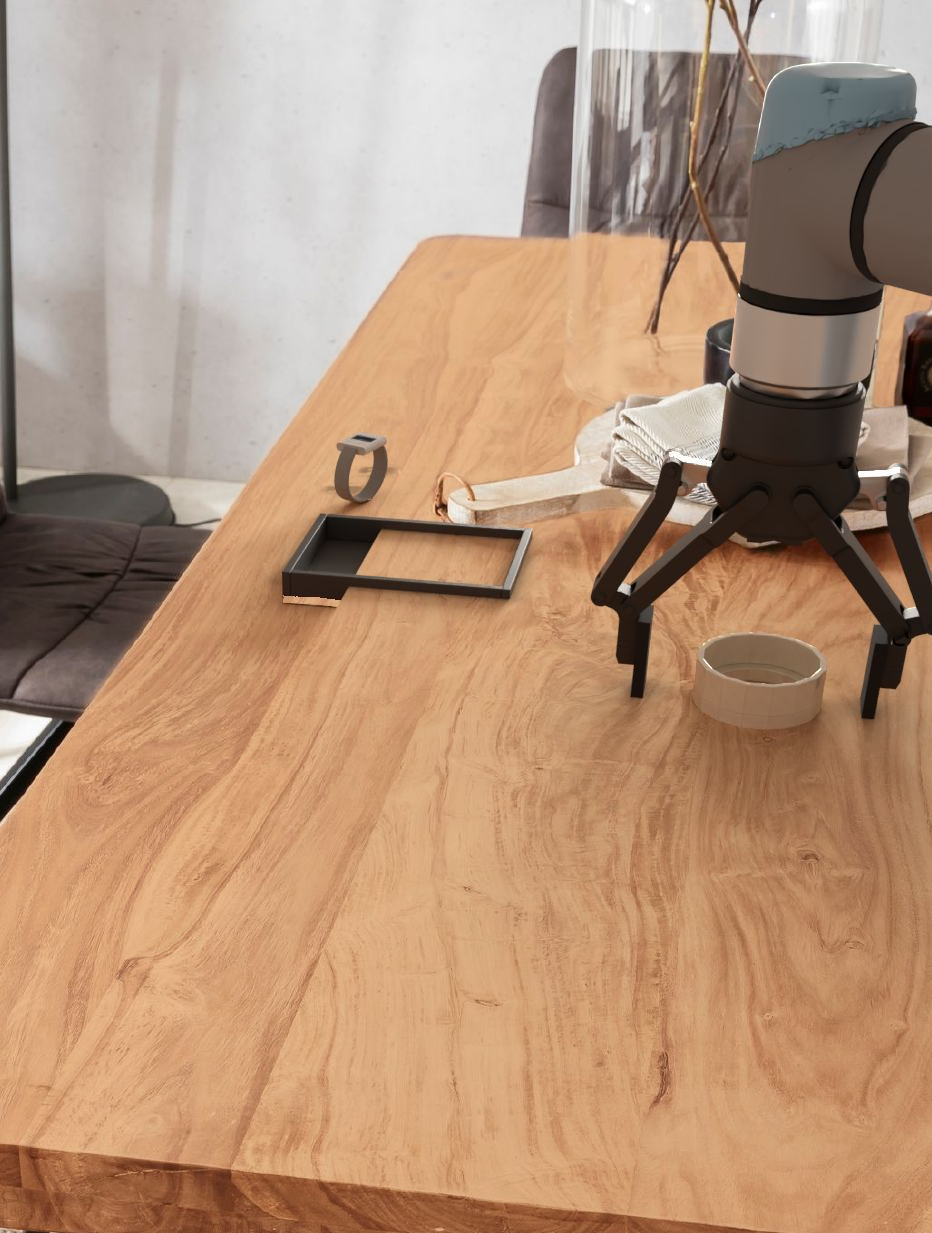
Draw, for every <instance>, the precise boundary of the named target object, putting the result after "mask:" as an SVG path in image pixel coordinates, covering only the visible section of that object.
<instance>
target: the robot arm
mask: <svg viewBox="0 0 932 1233" xmlns="http://www.w3.org/2000/svg"><path fill="white" fill-rule="evenodd" d="M917 92H918V86H917V82H916V79H915V77H914V76H913V75H912V74H911V73H910V72H909V71H907V70H904V69H899V68H896V67H895V66H891V65H886V64H880V63H879V64H878V63H869V62H851V61H850V62H849V61H847V62H846V61H831V62H830V61H829V62H826V61H825V62H811V63H803V64H798V65H793V66H792V65H791V66H789V67H786V68H784V69H783V70H781V71H779V72H777V73H776V74H775V75H774V76H773V77H772V79H771V80H770V81H769V84H768V85H767V87H766V90H765V93H764V98H763V104H762V108H761V114H760V120H759V125H758V130H757V137H756V142H755V147H754V152H753V153H752V155H751V157H750V158H751V159H750V164H751V172H750V184H749V195H748V208H747V219H746V220H747V221H746V232H745V242H744V243H745V245H744V254H743V261H742V262H743V264H742V273H741V274H740V277H739V278H740V281H739V288H738V293H737V295H736V303H735V311H734V319H733V320H734V322H733V329H732V335H731V336H732V337H731V338H732V339H731V344H730V345H731V346H730V352H729V354H730V355H729V360H728V361H729V362H728V363H729V367H730V368H731V369H732V370H733V372H735V373H734V374H733V375H732V376H731V377H730V378H729V379H728V380H727V382H726V387H725V393H724V394H725V396H724V403H723V412H722V413H723V414H722V419H721V429H720V437H719V444H718V449H717V452H716V454H715V456H714V457H713V458H712V460H705V459H700V458H696V457H690V456H686V455H685V453H684V451H683V450H682V449H680V448H678V447H671V448H669V449H667V450H666V451H665V452H664V455H663V458H662V463H661V467H660V471H659V475H658V480H657V483H656V485H655V486H654V488H653V489H652V491H651V492H650V493H649V496H648V497H647V498H646V500H645V501H644V503H643V504H642V506H641V507H640V509H639V511H637V514H636V516H635V517H633V520H632V522H630V524H629V526H628V527H627V529H626V531H625V532H624V534H623V535H622V536H621V538H620V540H618V543H617V544H616V545H615V547H614V549H613V550H612V552H611V553H610V554H609V556H608V558H607V560H606V561H605V563H604V564H603V565H602V567H601V568H600V570H599V572H598V573H597V574H596V576H595V579H594V581H593V585H592V588H591V593H590V601H591V603H592V604H593V605H594V606H596V607H600V608H601V607H607V608H609V609H611V610H613V611H614V612H615V613H616V614H617V617H618V627H617V637H616V638H617V639H616V650H615V658H616V661H617V664H618V665H629V666H633V668H632V677H631V687H630V688H631V689H630V698H634V699H643V698H644V693H645V688H646V682H647V675H648V667H649V659H650V658H649V657H650V656H649V655H650V649H651V648H650V647H651V639H652V627H653V619H654V609H655V604H653V603H654V602H655V601H657V600H658V599H659V598H660V597H661V596H663V594H664V593H665V592H667V591H668V590H669V589H670V588H672V587H673V586H674V585H675V584H676V583H677V582H678V581H679V580H680V579H681V578H683V577H684V576H685V575H686V574H687V573H688V572H689V571H691V569H693V568H694V567H695V566H696V565H697V564H698V563H700V561H702V560H703V559H704V558H705V557H707V556H708V555H709V553H711V552H712V551H713V550H714V549H718V548H720V547H721V546H722V545H723V544H724V543H725V542H727V541H728V540H729V539H731V537H732V536H733V535H734V534H737V535H738V536H740V537H741V538H744V539H746V543H754V544H763V543H770V542H776V543H780V544H783V545H786V546H791V547H803V544H805V543H808V542H811V541H813V540H815V539H816V540H817V541H818V543H819V544H820V546H821V547H822V549H823V550H824V551H825V553H826V554H827V555H828V556H829V558H831V559H833V560H834V562H835V564H836V565H837V566H838V567H839V569H840V571H841V572H842V573H843V575H844V576H845V577H846V579H847V580H848V582H849V583H850V584H851V586H852V588H854V590H855V592H856V593H857V594H858V595H859V597H860V598H861V600H862V601H863V602H864V604H865V605H866V607H867V608H868V609H869V611H870V612H871V614H872V615H873V616H874V618H875V619H876V621H877V622H878V623H879V624H875V623H873V627H872V633H871V638H870V644H869V648H868V653H867V660H866V664H865V670H864V676H863V680H862V685H861V686H862V687H861V692H860V698H859V702H860V719H865V720H875V717H876V713H877V712H876V711H877V707H878V701H879V697H880V696H879V695H880V690H881V689H887V690H897V688H898V686H899V685H900V684H901V682H902V676H903V671H904V666H905V661H906V657H907V651H908V648H909V646H910V645H911V642H912V641H913V639H915V638H917V637H919V636H924V635H929V636H932V571H931V568H930V564H929V562H928V559H927V556H926V553H925V551H924V548H923V545H922V542H921V539H920V536H919V533H918V530H917V528H916V525H915V522H914V518H913V516H912V513H911V510H910V495H911V494H910V493H911V492H910V491H911V485H910V477H909V470H908V468H907V466H906V465H905V464H903V463H901V462H895V463H892V464H890V465H889V467H887V469H886V470H868V471H867V470H865V471H859V469H858V467H857V462H856V460H857V452H858V446H859V442H860V436H861V428H862V422H863V417H864V410H865V404H866V398H867V389H866V388H865V386H864V384H863V383H862V381H863V380H865V379H866V378H868V376H869V375H870V374H871V371H872V370H871V369H872V363H873V357H874V351H875V346H876V340H877V333H878V332H877V331H878V327H879V323H880V317H881V316H880V315H881V309H882V304H883V303H882V302H883V296H884V288H885V286H888V287H889V286H890V287H894V288H897V289H902V290H905V291H908V292H912V293H916V294H920V295H923V296H924V295H925V296H927V297H931V298H932V125H930V124H927V123H925V122H924V121H923V122H922V121H916V117H917V115H918V109H917V107H916V102H917ZM703 483H704V484H706V485H707V486H706V487H707V488H708V490H709V492H710V494H711V495H712V497H713V498H714V500H715V502H716V503H715V504H714V505H713V506H712V507H710V508H709V510H708V511H706V513H705V514H704V515H703V516H702V518H701V519H700V520H699V521H698V522H697V523H696V524H695V525H693V527H691V528H690V530H688V531H687V532H686V533H685V534H684V535H683V536H681V537H680V538H679V539H678V540H677V541H676V542H675V543H673V545H672V546H670V548H668V549H667V550H666V551H665V552H664V553H663V554H661V556H659V557H658V558H657V559H656V560H655V561H654V562H652V564H650V565H649V566H648V567H647V568H645V570H644V571H643V572H642V573H641V574H639V575H638V576H637V577H636V578H635V579H634V580H633V581H631V582H630V583H629V582H626V583H625V582H624V581H625V580H626V579H627V577H628V575H629V573H630V572H631V571H632V569H633V568H634V566H635V565H636V563H637V562H638V560H639V559H640V557H641V556H642V554H643V552H645V550H646V549H647V547H648V545H649V544H650V542H651V541H652V539H653V538H654V536H655V535H656V533H657V532H658V530H659V529H660V527H661V526H662V525H663V523H664V522H665V521H666V518H667V517H668V516H669V513H670V512H671V510H672V509H673V506H674V505H675V502H676V499H677V497H679V498H680V497H681V498H683V497H687V496H689V495H690V494H691V493H692V492H693V490H694V488H695V487H696V486H697V485H698V484H703ZM859 495H864V496H865V497H867V498H868V499H869V501H870V505H871V507H872V508H873V510H875V511H877V512H885V518H886V525H887V528H888V532H889V535H890V538H891V541H892V543H893V546H894V549H895V552H896V554H897V557H898V560H899V563H900V566H901V568H902V571H903V575H904V577H905V580H906V582H907V585H908V588H909V591H910V595H911V597H912V599H913V603H914V605H915V606H913V607H909V608H906V606H905V605H904V604H903V602H902V601H901V599H900V598H899V596H898V595H897V594H896V592H895V591H894V589H892V588H893V587H891V586H890V584H889V583H888V581H887V580H886V579H885V577H884V576H883V574H882V572H881V571H880V570H879V568H878V567H877V566H876V564H875V563H874V561H873V560H872V559H871V557H870V556H869V554H868V553H867V551H866V550H865V549H864V547H863V546H862V544H861V543H860V542H859V540H858V539H857V537H856V536H855V535H854V533H853V531H852V530H851V528H850V526H849V524H848V522H847V520H846V519H845V518H844V516H843V515H842V513H843V512H844V511H845V510H846V509H847V508H848V507H849V506H850V505H851V504H852V503H853V502H854V501H855V500H856V499H857V497H858V496H859Z"/></svg>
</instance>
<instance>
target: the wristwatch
mask: <svg viewBox="0 0 932 1233" xmlns="http://www.w3.org/2000/svg"><path fill="white" fill-rule="evenodd" d="M387 443H388V440H387V437H386V436H384V435H378V434H373V433H368V432H365V431H358V432H357V433H355V434H353V435H350V436H349V437H347V438H344V439H343V440H341V441H338V442H337V443H336V447H335V448H336V450H337V451H339V452H340V453H339V456H338V459H337V462H336V466H335V470H334V476H333V478H334V479H333V482H334V483H333V484H334V489H335V492H336V494H337V496H338V497H339V498H340V499H342V500H344V501H347V502H348V501H349V502H353V503H358V504H359V503H360V504H362V502H363V503H366V502H368V501H369V500H368V499H370V498H371V499H373V498H374V497H375V496H376V494H378V492H379V490H381V487H382V485H383V484H384V480H385V478H386V475H387V471H388V465H389V457H388V451H387V448H386V445H387ZM370 453H372V456H373V457H372V458H373V462H372V468H371V472H370V475H369V478H368V480H367V481H366V484H365V485H364V487H363V488H362V489H361V490H360V492H358V493H357V494H356V495H353V494H352V492H351V489H350V474H351V471H352V466H353V463H354V460H355V457H356V455H357V456H362V457H364V456H366V455H368V454H370ZM373 496H374V497H373ZM371 499H370V500H371ZM367 500H368V501H367ZM365 501H366V502H365Z"/></svg>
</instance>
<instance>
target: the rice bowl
mask: <svg viewBox="0 0 932 1233" xmlns="http://www.w3.org/2000/svg"><path fill="white" fill-rule="evenodd" d="M695 664H696V665H695V671H694V672H695V673H694V681H693V682H694V683H693V688H692V698H691V699H692V702H693V703H694V704H695V706H696V707H697V709H698V710H699V711H700V712H701V713H703V714H705V715H707V716H708V717H711V718H712V719H714V720H715V721H718V722H720V723H725V724H728V725H732V726H735V727H739V728H743V729H755V730H765V731H770V730H781V729H782V730H783V729H792V728H795V727H797V726H801V725H803V724H807V723H810V722H811V721H812V720H813V719H814V718H816V716H818V715H819V714H820V712H821V708H822V702H823V695H824V690H825V685H826V678H827V671H828V661H827V658H826V656H824V655H823V654H822V652H821V651H820V650H819V649H818V648H817V647H814V646H813V645H810V644H809V643H807V642H804V641H802V640H800V639H797V638H793V637H790V636H785V635H782V634H777V633H769V632H757V631H746V632H734V633H726V634H722V635H719V636H716V637H713V638H709V639H708V640H707V641H706V642H705V643H703V644H702V645H701V646H699V647H698V649H697V655H696V663H695ZM750 681H752V682H750ZM760 682H764V683H760Z"/></svg>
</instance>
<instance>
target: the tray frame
mask: <svg viewBox="0 0 932 1233" xmlns="http://www.w3.org/2000/svg"><path fill="white" fill-rule="evenodd" d="M317 516H318V517H317V518H316V519H315V520H314V522H313V524H312V526H311V527H310V529H309V530H308V531H307V533H306V535H305V536H304V537H303V539H302V541H301V542H300V543H299V545H298V546H297V548H296V550H295V551H294V553H293V554H292V556H291V557H290V559H289V560H288V561H287V563H286V565H285V566H284V567H283V569H282V571H281V589H282V590H281V592H282V594H281V595H282V596H283V595H284V596H295V597H296V596H298V597H320V598H327V599H335V600H341V601H343V600H342V599H343V598H344V597H345V595H346V593H347V591H348V589H349V588H363V589H374V590H375V589H376V590H387V591H397V592H398V591H402V592H412V593H413V592H414V593H423V594H424V593H425V594H437V595H448V596H449V595H450V596H463V597H474V598H487V599H498V600H499V599H500V600H511V597H512V594H513V592H514V589H515V586H516V584H517V581H518V578H519V575H520V573H521V570H522V567H523V566H524V562H525V560H526V556H527V553H528V551H529V548H530V545H531V543H532V540H533V533H534V529H533V528H528V527H516V526H515V527H513V526H502V525H501V526H500V525H488V524H487V525H485V524H474V523H460V522H445V521H432V520H420V519H419V520H418V519H405V518H391V517H390V518H389V517H379V516H378V517H377V516H362V515H350V514H336V513H324V512H323V513H319V515H317ZM382 530H386V531H400V532H412V533H413V532H415V533H427V534H430V533H431V534H439V535H453V536H454V535H455V536H465V537H467V536H468V537H469V536H470V537H482V538H495V539H509V540H511V539H512V540H519V543H518V546H517V549H516V551H515V554H514V557H513V559H512V561H511V564H510V567H509V570H508V573H507V575H506V577H505V580H504V583H503V585H491V584H490V585H489V584H479V583H478V584H476V583H466V582H465V583H464V582H453V581H452V582H451V581H440V580H429V579H427V580H426V579H414V578H403V577H389V576H377V575H367V574H365V575H364V574H357V573H358V572H359V570H360V569H361V567H362V565H363V563H364V561H365V559H366V557H367V556H368V554H369V552H370V550H371V549H372V547H373V545H374V544H375V542H376V540H377V538H378V536H379V535H380V533H381V531H382Z"/></svg>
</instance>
